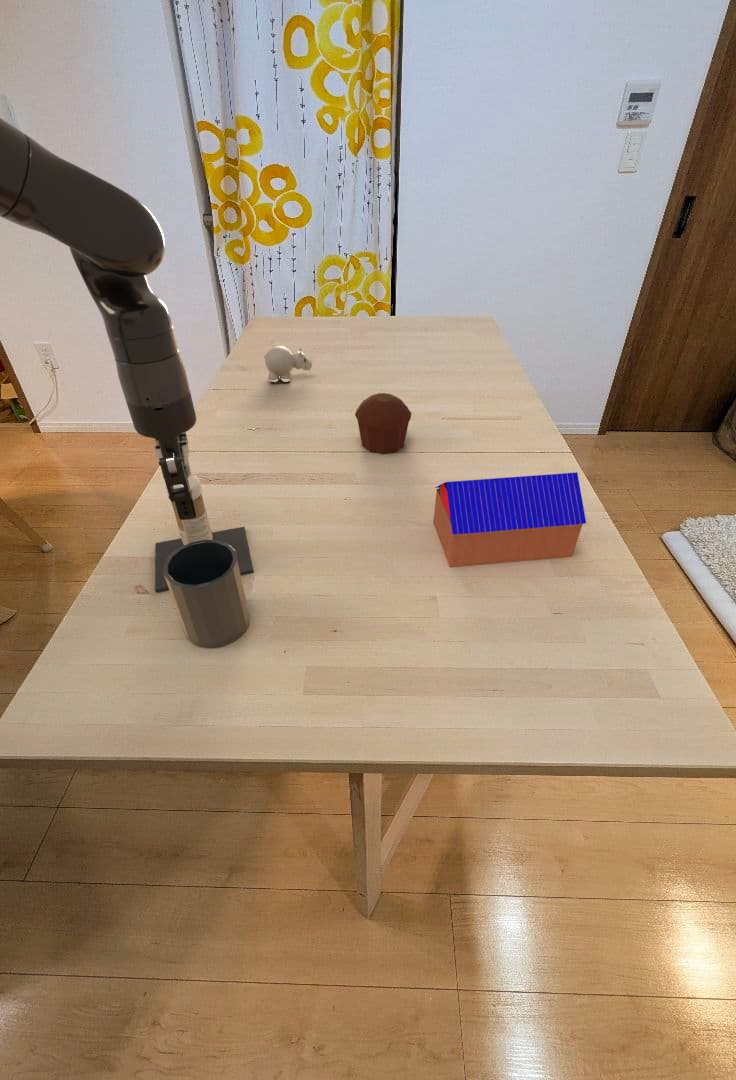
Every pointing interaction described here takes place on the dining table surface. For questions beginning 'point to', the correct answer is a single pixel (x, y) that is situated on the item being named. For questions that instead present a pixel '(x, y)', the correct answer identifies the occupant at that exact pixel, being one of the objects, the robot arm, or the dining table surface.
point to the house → (509, 518)
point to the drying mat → (230, 536)
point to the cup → (208, 592)
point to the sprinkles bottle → (200, 524)
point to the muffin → (383, 423)
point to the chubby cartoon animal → (285, 362)
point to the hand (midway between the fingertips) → (187, 500)
